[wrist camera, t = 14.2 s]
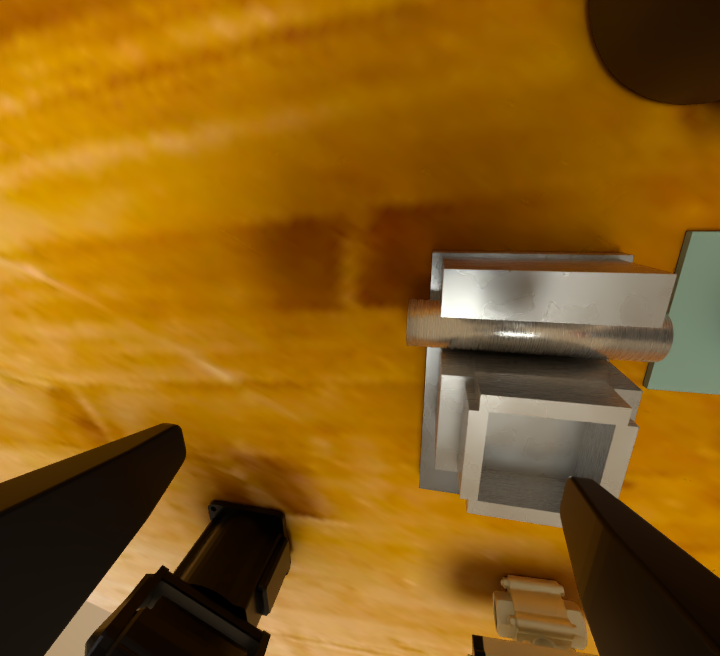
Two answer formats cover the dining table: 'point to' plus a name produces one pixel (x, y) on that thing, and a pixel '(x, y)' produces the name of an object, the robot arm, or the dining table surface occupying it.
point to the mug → (661, 47)
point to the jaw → (531, 429)
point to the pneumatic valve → (533, 621)
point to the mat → (693, 320)
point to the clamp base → (535, 316)
